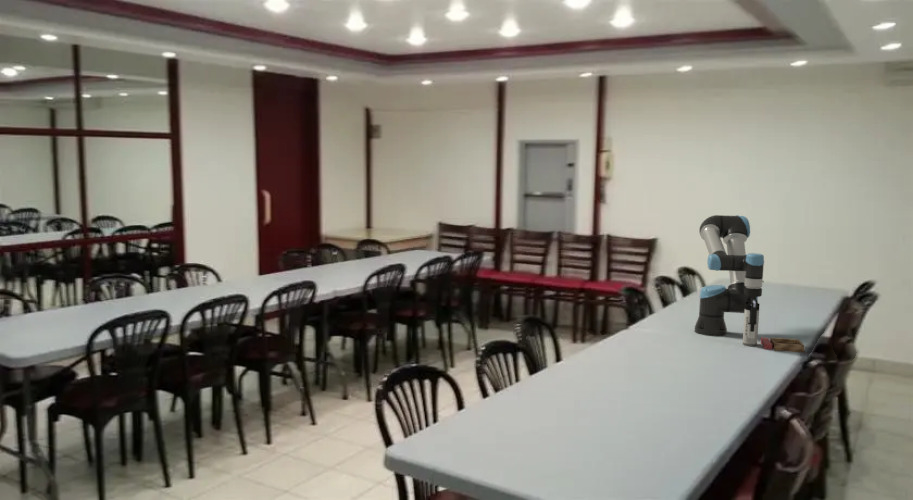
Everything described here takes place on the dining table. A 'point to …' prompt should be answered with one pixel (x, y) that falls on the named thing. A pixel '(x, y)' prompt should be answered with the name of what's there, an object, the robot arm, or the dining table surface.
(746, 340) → the travel mug
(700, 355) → the dining table surface
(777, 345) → the box
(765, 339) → the door edge strip
